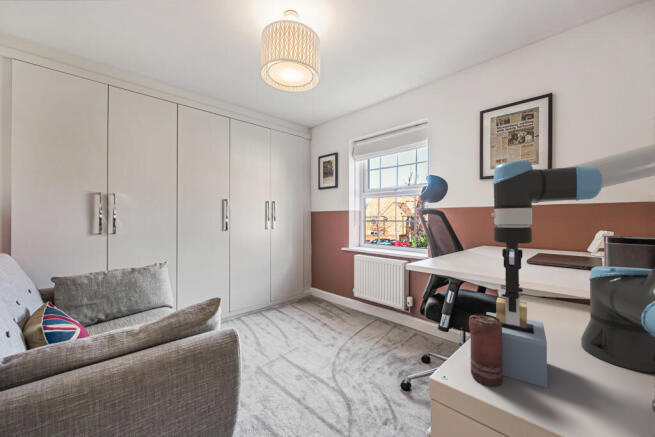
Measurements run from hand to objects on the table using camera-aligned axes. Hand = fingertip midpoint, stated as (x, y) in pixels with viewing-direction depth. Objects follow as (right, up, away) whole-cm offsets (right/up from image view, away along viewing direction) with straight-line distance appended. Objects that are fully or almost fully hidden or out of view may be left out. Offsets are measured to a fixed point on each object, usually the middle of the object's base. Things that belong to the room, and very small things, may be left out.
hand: (512, 320), depth 63 cm
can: (-10, -12, -5) cm, 16 cm away
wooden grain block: (0, -1, 0) cm, 1 cm away
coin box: (0, -11, 0) cm, 11 cm away
